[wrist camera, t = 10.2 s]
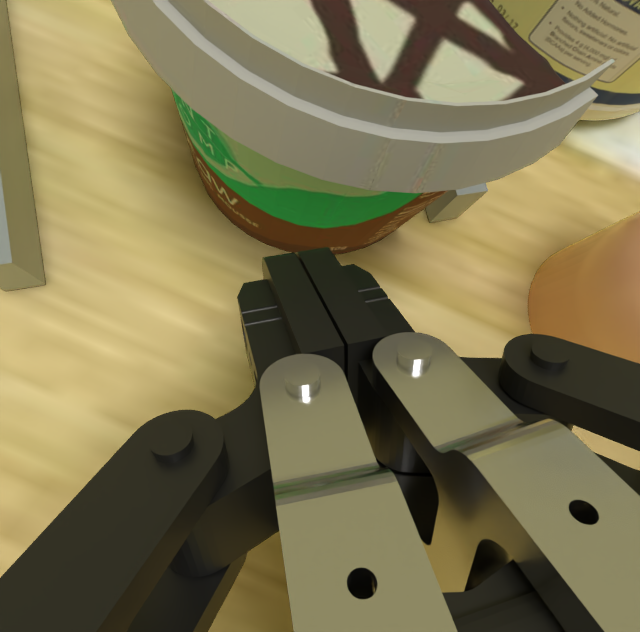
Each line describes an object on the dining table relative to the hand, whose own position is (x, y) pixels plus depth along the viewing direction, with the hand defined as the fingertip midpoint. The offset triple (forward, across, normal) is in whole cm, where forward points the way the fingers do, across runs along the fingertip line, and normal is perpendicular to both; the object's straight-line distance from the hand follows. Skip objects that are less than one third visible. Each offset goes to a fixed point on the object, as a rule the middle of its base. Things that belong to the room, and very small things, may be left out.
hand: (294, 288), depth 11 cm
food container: (+8, -1, 0) cm, 8 cm away
